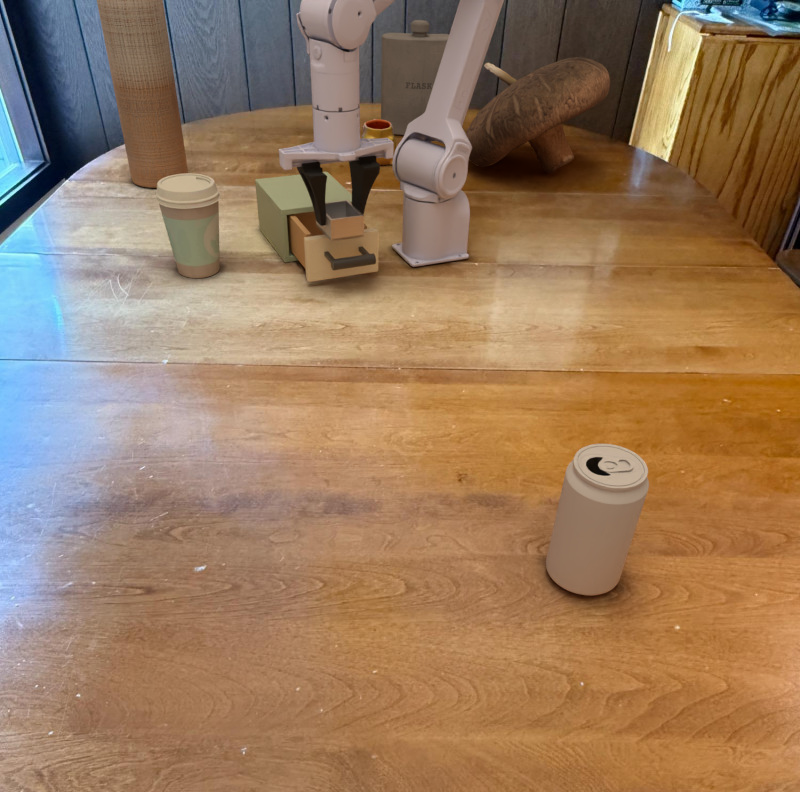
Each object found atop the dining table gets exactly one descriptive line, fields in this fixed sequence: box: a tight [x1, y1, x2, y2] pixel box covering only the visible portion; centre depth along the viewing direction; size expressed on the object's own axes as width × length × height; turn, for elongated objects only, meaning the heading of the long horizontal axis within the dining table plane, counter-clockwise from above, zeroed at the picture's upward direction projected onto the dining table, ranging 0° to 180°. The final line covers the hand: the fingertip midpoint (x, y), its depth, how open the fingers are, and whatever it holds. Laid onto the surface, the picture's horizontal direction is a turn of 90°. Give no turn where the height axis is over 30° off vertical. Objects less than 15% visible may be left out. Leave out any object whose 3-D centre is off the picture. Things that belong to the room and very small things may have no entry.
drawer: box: [287, 212, 380, 283], centre depth 109 cm, size 17×10×6 cm, turn 23°
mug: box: [361, 118, 397, 166], centre depth 149 cm, size 12×7×7 cm, turn 3°
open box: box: [316, 200, 365, 242], centre depth 102 cm, size 5×6×3 cm
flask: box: [380, 19, 450, 137], centre depth 158 cm, size 15×6×20 cm, turn 92°
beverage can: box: [545, 443, 650, 596], centre depth 63 cm, size 6×6×12 cm
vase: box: [96, 0, 189, 189], centre depth 129 cm, size 10×10×28 cm
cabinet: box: [254, 171, 352, 263], centre depth 117 cm, size 14×12×8 cm
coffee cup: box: [155, 172, 222, 279], centre depth 107 cm, size 8×8×12 cm
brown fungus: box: [465, 56, 611, 174], centre depth 143 cm, size 28×23×25 cm
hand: (339, 220), depth 102 cm, fingers closed on open box, 4 cm apart
